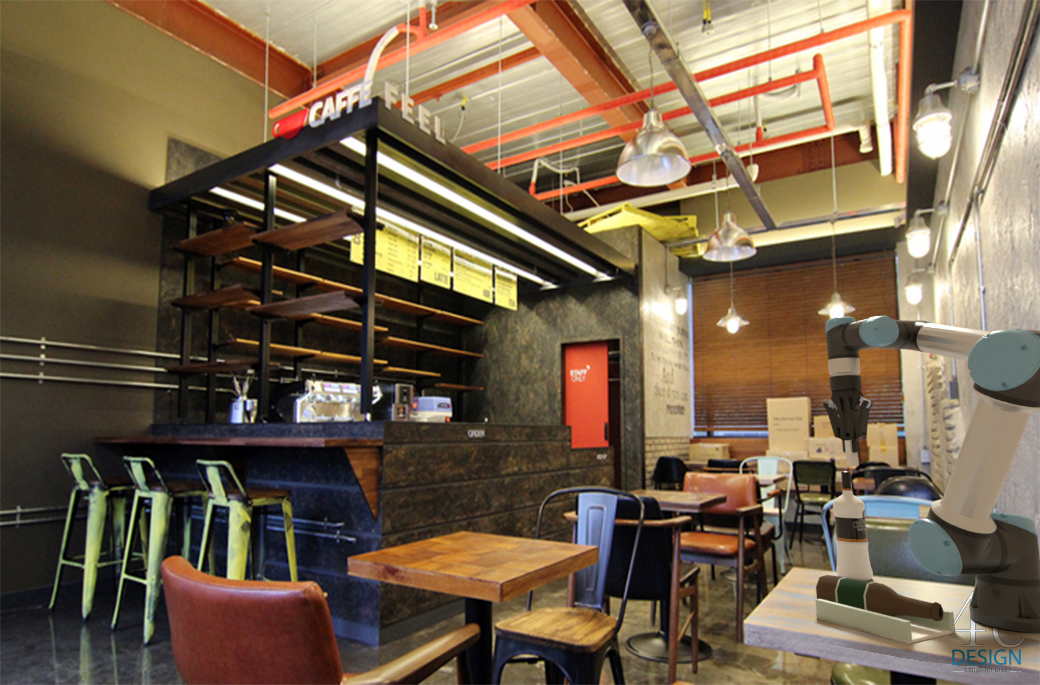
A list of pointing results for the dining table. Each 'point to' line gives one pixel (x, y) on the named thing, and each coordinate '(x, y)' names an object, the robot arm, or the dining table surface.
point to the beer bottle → (874, 598)
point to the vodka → (851, 534)
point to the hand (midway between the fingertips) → (852, 465)
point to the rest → (885, 622)
